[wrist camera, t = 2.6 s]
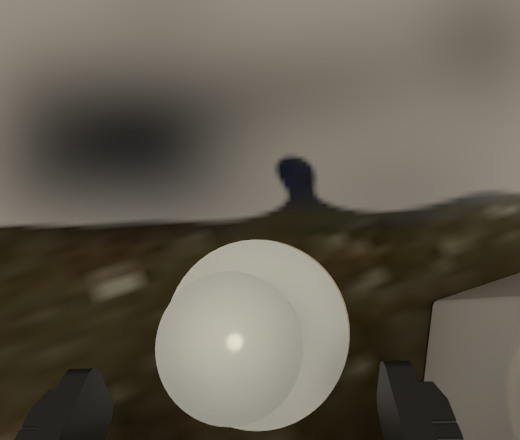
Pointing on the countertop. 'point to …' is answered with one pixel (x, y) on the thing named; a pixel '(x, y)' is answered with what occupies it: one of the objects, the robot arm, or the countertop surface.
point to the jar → (479, 358)
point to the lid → (252, 337)
